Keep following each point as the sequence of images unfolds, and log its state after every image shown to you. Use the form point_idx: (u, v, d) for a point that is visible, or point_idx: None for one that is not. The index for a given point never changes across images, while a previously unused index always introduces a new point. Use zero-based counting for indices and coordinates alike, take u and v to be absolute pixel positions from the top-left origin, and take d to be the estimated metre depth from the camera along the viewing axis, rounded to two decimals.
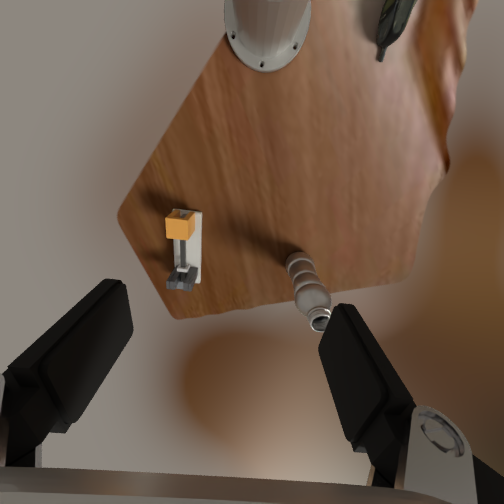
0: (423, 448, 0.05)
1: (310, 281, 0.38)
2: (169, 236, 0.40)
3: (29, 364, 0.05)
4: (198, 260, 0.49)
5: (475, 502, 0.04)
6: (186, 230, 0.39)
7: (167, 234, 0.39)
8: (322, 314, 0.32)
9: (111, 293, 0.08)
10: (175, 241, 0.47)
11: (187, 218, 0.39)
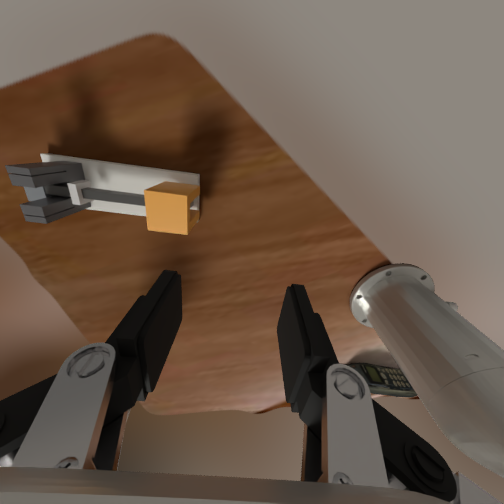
0: (338, 404, 0.06)
1: None
2: (148, 196, 0.20)
3: (131, 337, 0.06)
4: (107, 208, 0.27)
5: (358, 431, 0.05)
6: (167, 230, 0.21)
7: (152, 193, 0.20)
8: None
9: (173, 282, 0.09)
10: (136, 170, 0.25)
11: (190, 228, 0.22)
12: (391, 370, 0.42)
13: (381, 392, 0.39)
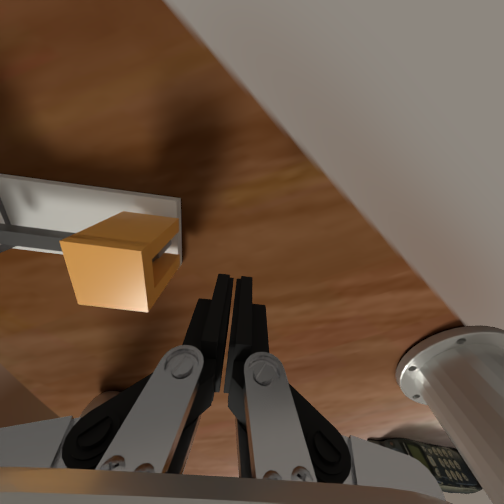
0: (258, 397, 0.05)
1: None
2: (70, 252, 0.11)
3: (213, 339, 0.07)
4: None
5: (257, 415, 0.05)
6: (113, 305, 0.12)
7: (75, 246, 0.10)
8: None
9: (230, 286, 0.09)
10: (79, 193, 0.16)
11: (155, 296, 0.13)
12: (439, 450, 0.32)
13: None
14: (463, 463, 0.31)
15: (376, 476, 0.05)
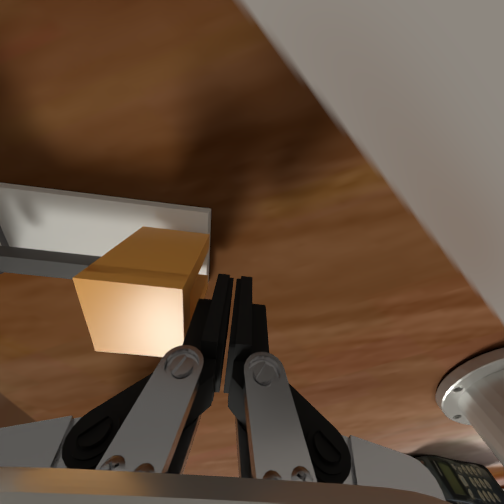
0: (258, 397, 0.05)
1: None
2: (86, 291, 0.08)
3: (213, 339, 0.07)
4: None
5: (257, 415, 0.05)
6: (140, 351, 0.09)
7: (94, 285, 0.08)
8: None
9: (230, 286, 0.09)
10: (91, 205, 0.13)
11: None
12: (469, 468, 0.30)
13: None
14: (493, 482, 0.30)
15: (376, 476, 0.05)
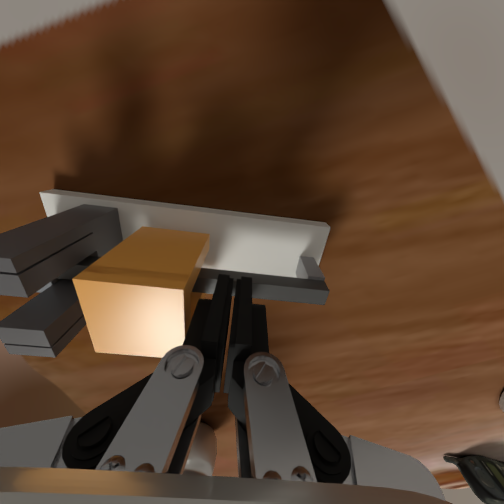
0: (258, 397, 0.05)
1: None
2: (86, 292, 0.08)
3: (213, 339, 0.07)
4: None
5: (257, 415, 0.05)
6: (140, 352, 0.09)
7: (94, 286, 0.08)
8: None
9: (230, 286, 0.09)
10: (218, 220, 0.13)
11: None
12: None
13: None
14: None
15: (376, 476, 0.05)
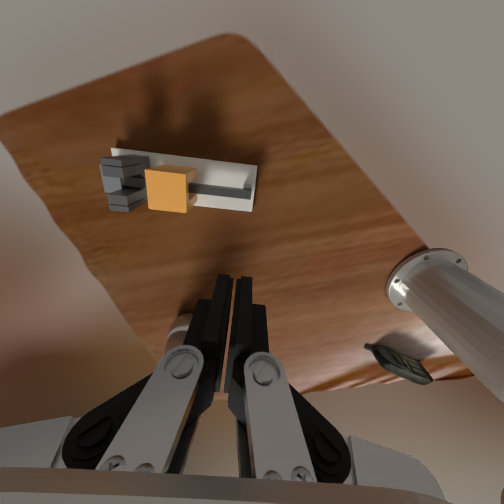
0: (258, 397, 0.05)
1: None
2: (149, 175, 0.21)
3: (213, 339, 0.07)
4: None
5: (258, 416, 0.05)
6: (167, 208, 0.23)
7: (152, 172, 0.21)
8: None
9: (230, 286, 0.09)
10: (200, 162, 0.27)
11: (188, 207, 0.24)
12: (409, 359, 0.45)
13: (404, 375, 0.41)
14: (422, 367, 0.45)
15: (376, 476, 0.05)
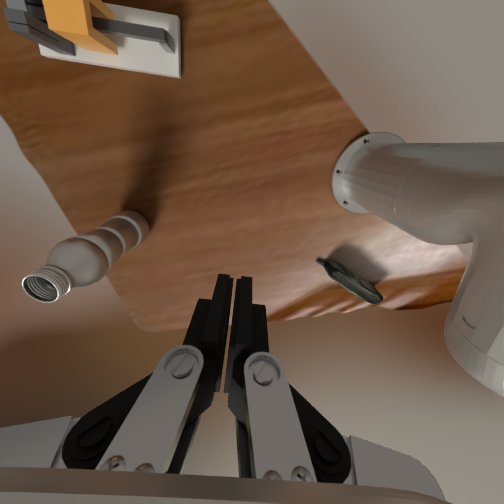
0: (258, 397, 0.05)
1: (109, 253, 0.28)
2: None
3: (213, 339, 0.07)
4: (91, 59, 0.28)
5: (258, 415, 0.05)
6: (68, 29, 0.22)
7: None
8: (58, 287, 0.22)
9: (230, 286, 0.09)
10: (117, 9, 0.26)
11: (94, 35, 0.23)
12: (361, 279, 0.44)
13: (352, 286, 0.40)
14: (374, 288, 0.44)
15: (375, 476, 0.05)
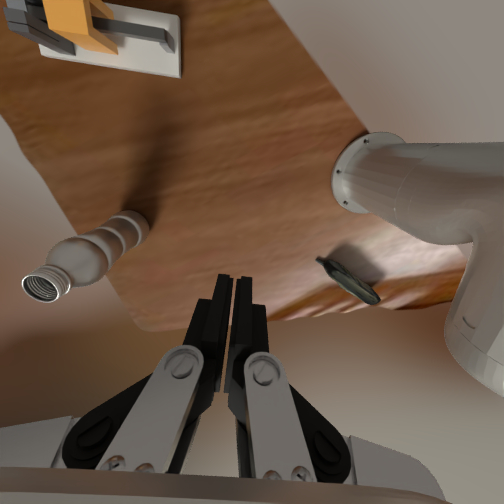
0: (258, 397, 0.05)
1: (109, 253, 0.28)
2: None
3: (213, 339, 0.07)
4: (91, 58, 0.28)
5: (257, 415, 0.05)
6: (68, 28, 0.22)
7: None
8: (57, 287, 0.22)
9: (230, 286, 0.09)
10: (118, 9, 0.26)
11: (94, 35, 0.23)
12: (360, 280, 0.44)
13: (351, 286, 0.40)
14: (372, 289, 0.44)
15: (376, 476, 0.05)
